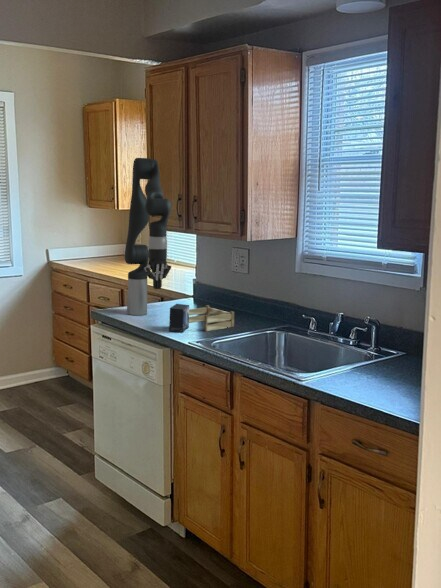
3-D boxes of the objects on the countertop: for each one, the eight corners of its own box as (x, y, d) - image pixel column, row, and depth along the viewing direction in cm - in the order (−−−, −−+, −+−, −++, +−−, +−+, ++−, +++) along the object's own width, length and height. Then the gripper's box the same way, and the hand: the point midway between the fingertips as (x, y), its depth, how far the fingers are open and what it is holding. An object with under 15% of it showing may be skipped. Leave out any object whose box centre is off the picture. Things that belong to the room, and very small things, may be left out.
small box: (183, 333, 271) (183, 308, 269) (168, 331, 272) (169, 307, 271) (189, 327, 281) (190, 304, 280) (175, 326, 283) (175, 303, 281)
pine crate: (179, 323, 289) (180, 308, 287) (207, 319, 299) (207, 305, 298) (206, 331, 275) (206, 315, 274) (233, 326, 286) (234, 311, 284)
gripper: (165, 245, 270) (164, 286, 273) (139, 247, 261) (138, 289, 264) (176, 247, 264) (175, 288, 267) (149, 249, 256) (149, 291, 259)
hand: (157, 288), depth 266 cm, fingers closed
